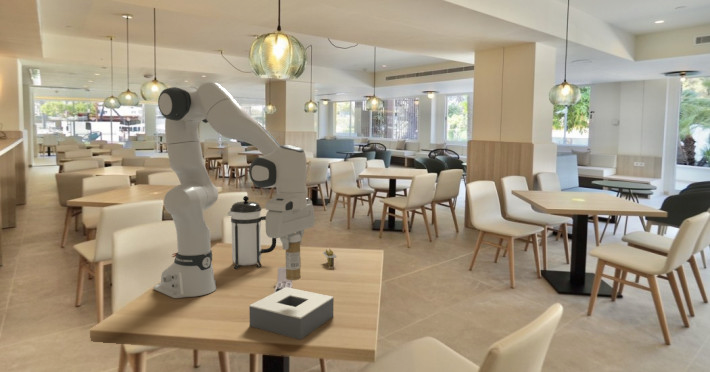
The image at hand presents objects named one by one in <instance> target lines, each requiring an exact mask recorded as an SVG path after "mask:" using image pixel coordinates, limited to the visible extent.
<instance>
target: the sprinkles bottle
mask: <svg viewBox="0 0 710 372" xmlns="http://www.w3.org/2000/svg"><path fill="white" fill-rule="evenodd" d="M287 240H288V243H290V249H288V250H285V267H286V279H287V280H292V281H297V280H300V279H301V276H302V275H301V264H302V262H301V245H300V241H301V242H302V239H301V236H300V234H297V233H296V232H295V233H292V234H289V235H288V238H287Z"/></svg>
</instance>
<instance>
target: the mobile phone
mask: <svg viewBox="0 0 710 372" xmlns="http://www.w3.org/2000/svg"><path fill="white" fill-rule="evenodd" d="M276 279H277V282H276V285H275V288H274V291H273V293H275V292H277V291H279V290H281V289H283V288H285V287H288V288H293V280H287V279H286V266H284V267H278V268H277V278H276Z"/></svg>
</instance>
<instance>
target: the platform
mask: <svg viewBox="0 0 710 372" xmlns="http://www.w3.org/2000/svg"><path fill="white" fill-rule="evenodd" d="M322 254H323V255H324V257H326V260H327V265H328V266H332V267H335V265H334V264H335V258H337V255H336V254H335V253H334V251H333V250H332V249H330V248H328V249H325V251H323V252H322Z"/></svg>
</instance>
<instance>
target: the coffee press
mask: <svg viewBox="0 0 710 372" xmlns="http://www.w3.org/2000/svg"><path fill="white" fill-rule="evenodd" d="M242 199H243V200H242V201H238V202H235V203H233V204H231V208H230V209H229V212H228V213H227V214H226V216H227V217H229V216H231V217H230V222H231V251H232V253H231V255H232V257H231V258H232V259H231V260H232V264H234V265H233V269H234V270H239V269H240V267H241V266H253V265H254V266H255V267H257V269H259V268H261V267H262V266H263V265H262V263H261V260H262V254H269V253H271V252H273V251H274V250H275V248H276V247H277V238H271V245H270V246H269V247H268V248H262V230H261V229H262V227H261V225H262V224H261V222H262V221H266V215H265V216H261V215H262V214H261V211H262V207H261V206H260V204H259V203H258V202H256V201H249V197H248V195H245V196H243V198H242Z"/></svg>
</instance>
